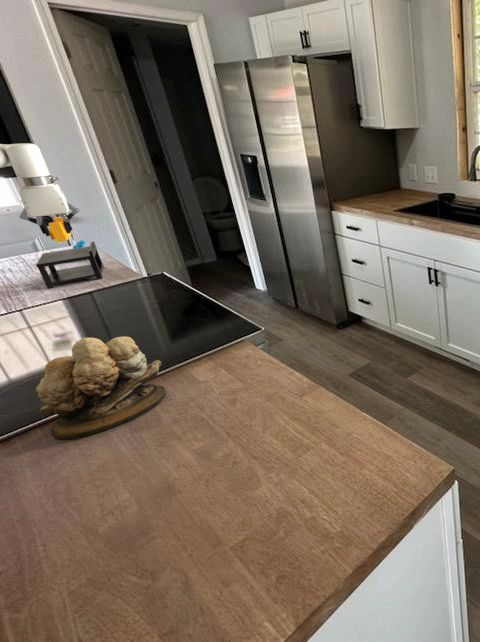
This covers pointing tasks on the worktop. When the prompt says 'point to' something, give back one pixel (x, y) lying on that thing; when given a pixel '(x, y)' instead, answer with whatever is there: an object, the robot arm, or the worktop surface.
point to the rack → (70, 273)
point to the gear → (80, 244)
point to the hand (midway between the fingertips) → (58, 233)
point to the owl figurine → (98, 387)
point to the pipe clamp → (58, 230)
